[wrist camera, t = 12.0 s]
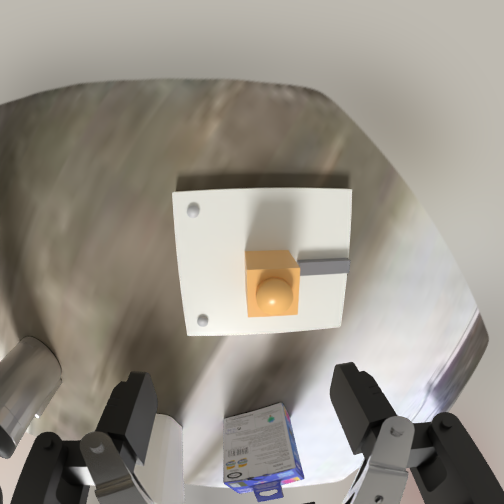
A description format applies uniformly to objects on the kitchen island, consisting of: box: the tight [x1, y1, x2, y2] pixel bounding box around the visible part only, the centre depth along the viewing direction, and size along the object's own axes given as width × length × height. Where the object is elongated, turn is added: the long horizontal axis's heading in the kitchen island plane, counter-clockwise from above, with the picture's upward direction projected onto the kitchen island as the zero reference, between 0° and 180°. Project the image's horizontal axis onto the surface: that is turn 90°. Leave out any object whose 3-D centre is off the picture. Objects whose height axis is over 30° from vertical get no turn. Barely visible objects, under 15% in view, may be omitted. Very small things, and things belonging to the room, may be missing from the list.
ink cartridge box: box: [223, 403, 304, 502], centre depth 30 cm, size 10×6×14 cm, turn 112°
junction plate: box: [172, 187, 352, 336], centre depth 27 cm, size 16×18×6 cm
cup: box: [134, 414, 185, 504], centre depth 28 cm, size 11×10×17 cm
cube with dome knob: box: [245, 250, 300, 317], centre depth 25 cm, size 4×4×6 cm
